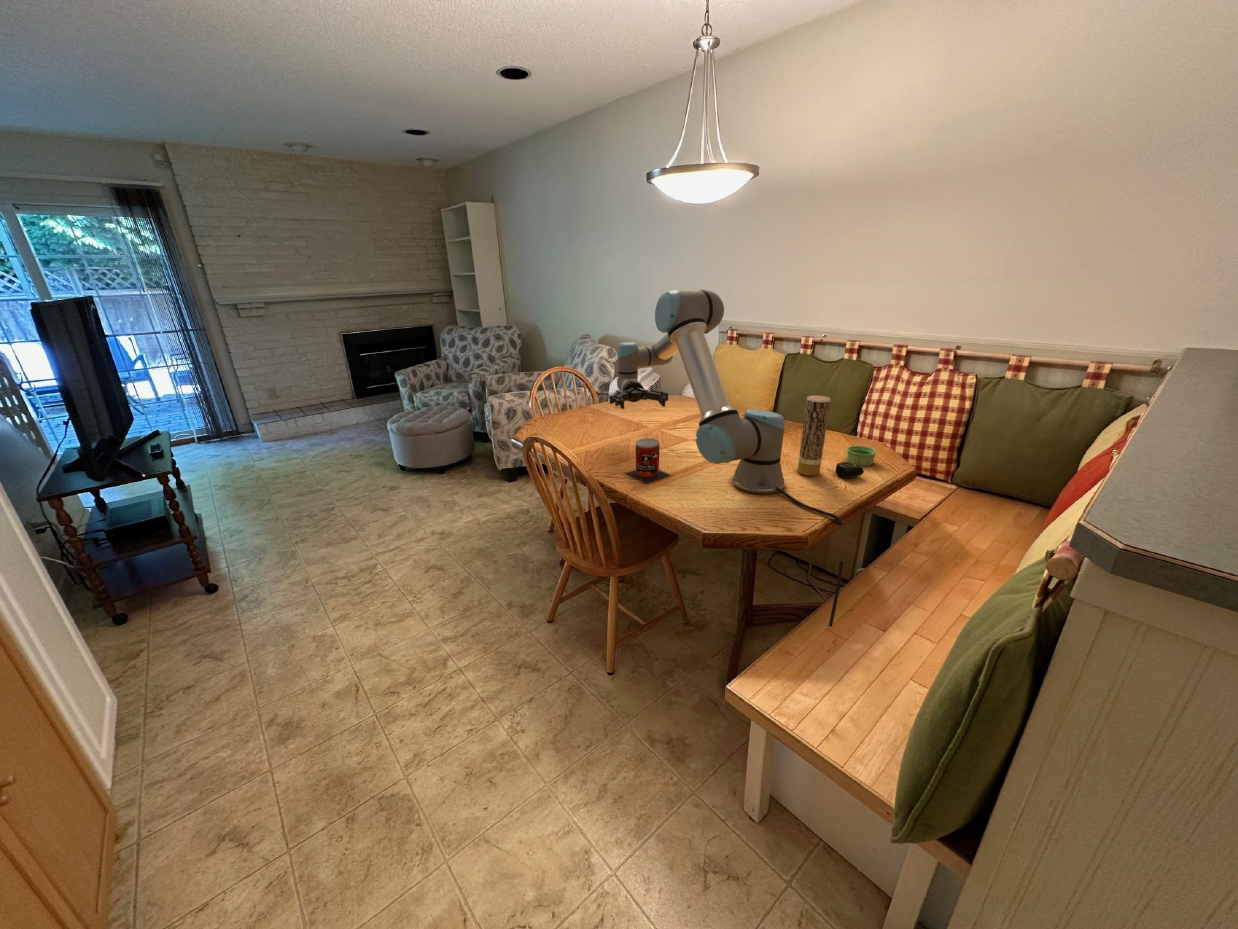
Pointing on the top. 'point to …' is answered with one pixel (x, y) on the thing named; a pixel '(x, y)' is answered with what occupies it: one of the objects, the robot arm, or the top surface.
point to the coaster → (647, 480)
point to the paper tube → (813, 435)
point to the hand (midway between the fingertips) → (643, 403)
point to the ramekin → (860, 455)
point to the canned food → (647, 457)
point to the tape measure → (848, 470)
